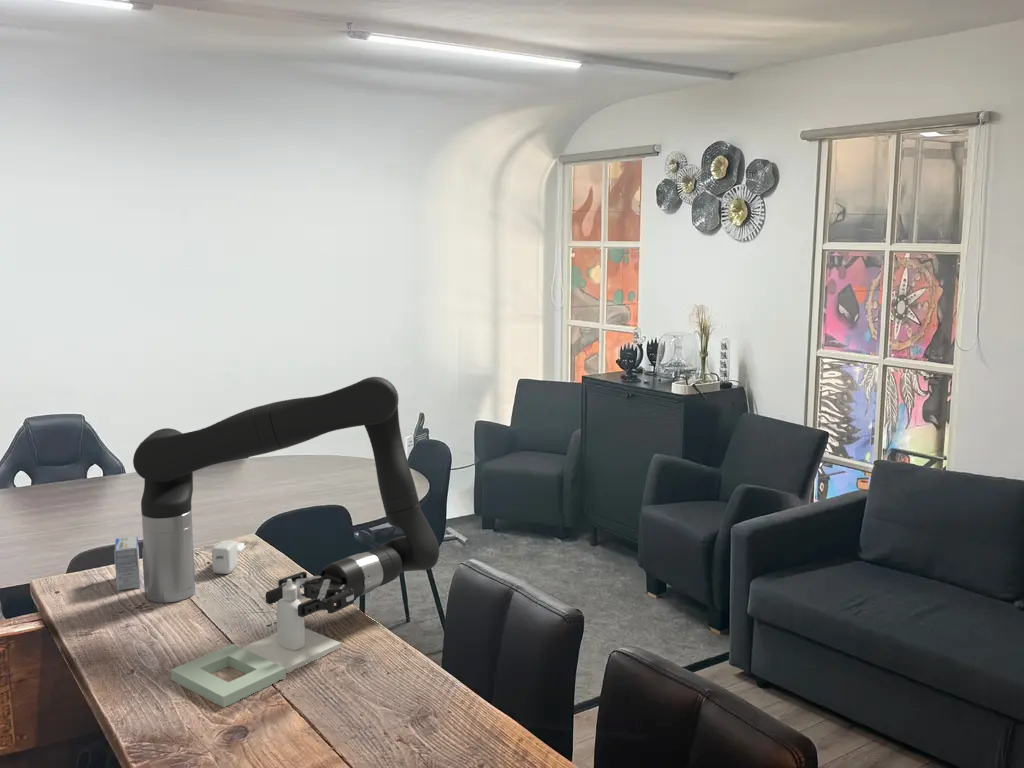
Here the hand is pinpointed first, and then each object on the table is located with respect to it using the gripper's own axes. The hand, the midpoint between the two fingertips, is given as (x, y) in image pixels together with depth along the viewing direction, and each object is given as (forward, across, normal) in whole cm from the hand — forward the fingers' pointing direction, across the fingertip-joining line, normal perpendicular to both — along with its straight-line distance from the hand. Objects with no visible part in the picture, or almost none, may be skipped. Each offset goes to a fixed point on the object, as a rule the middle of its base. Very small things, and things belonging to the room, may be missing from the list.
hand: (282, 604), depth 158 cm
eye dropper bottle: (-2, 0, +8) cm, 8 cm away
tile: (-2, 0, +9) cm, 9 cm away
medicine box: (-1, -50, +9) cm, 51 cm away
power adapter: (-20, -42, +9) cm, 47 cm away
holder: (+11, 0, +9) cm, 15 cm away
